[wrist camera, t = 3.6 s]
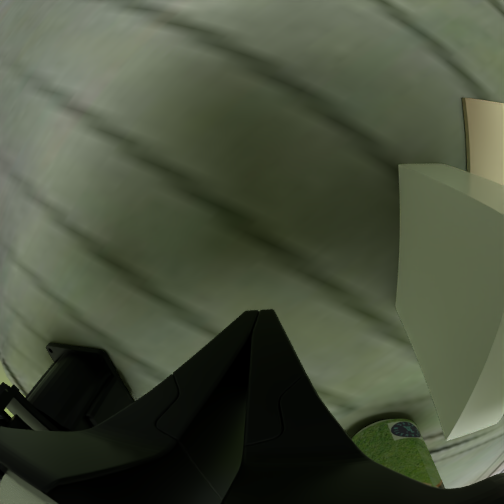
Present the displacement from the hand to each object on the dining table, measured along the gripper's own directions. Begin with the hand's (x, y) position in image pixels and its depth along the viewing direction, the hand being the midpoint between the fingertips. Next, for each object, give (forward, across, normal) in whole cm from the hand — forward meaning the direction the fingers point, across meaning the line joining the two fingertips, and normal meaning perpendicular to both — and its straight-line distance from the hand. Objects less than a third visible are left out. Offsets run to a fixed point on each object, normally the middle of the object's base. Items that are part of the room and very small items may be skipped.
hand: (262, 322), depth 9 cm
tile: (+5, -7, 0) cm, 9 cm away
